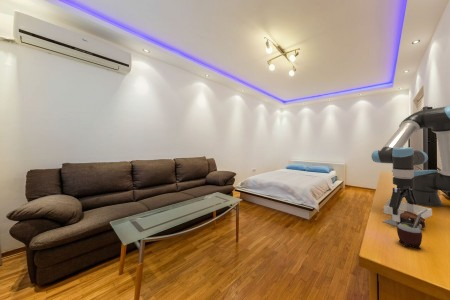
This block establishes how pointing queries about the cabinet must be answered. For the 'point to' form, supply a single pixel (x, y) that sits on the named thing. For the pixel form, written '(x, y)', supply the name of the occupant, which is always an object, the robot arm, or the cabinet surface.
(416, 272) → the cabinet surface
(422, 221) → the pottery mug
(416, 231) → the mate gourd
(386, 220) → the slate mat
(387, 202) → the carton
